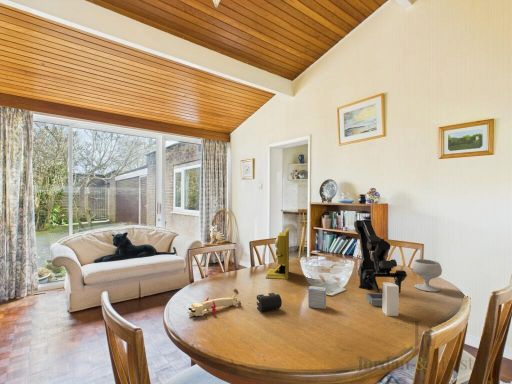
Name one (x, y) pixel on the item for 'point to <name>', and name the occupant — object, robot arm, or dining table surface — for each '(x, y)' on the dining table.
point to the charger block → (390, 299)
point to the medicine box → (317, 297)
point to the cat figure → (213, 304)
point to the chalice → (427, 273)
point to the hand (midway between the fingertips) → (389, 292)
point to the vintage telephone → (281, 257)
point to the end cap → (269, 302)
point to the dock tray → (374, 299)
